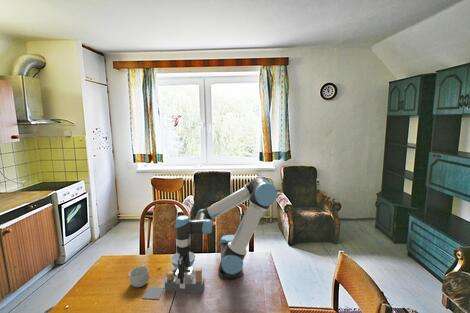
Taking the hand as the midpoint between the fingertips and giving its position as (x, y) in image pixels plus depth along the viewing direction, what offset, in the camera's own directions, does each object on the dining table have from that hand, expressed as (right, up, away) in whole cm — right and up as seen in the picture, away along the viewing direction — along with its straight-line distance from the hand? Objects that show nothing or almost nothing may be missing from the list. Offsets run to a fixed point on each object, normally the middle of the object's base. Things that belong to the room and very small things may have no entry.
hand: (184, 282), depth 143 cm
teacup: (-27, -3, +7) cm, 28 cm away
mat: (-16, -4, -3) cm, 17 cm away
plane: (0, -4, +1) cm, 4 cm away
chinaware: (-5, -1, +20) cm, 20 cm away
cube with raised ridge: (0, +1, 0) cm, 1 cm away
